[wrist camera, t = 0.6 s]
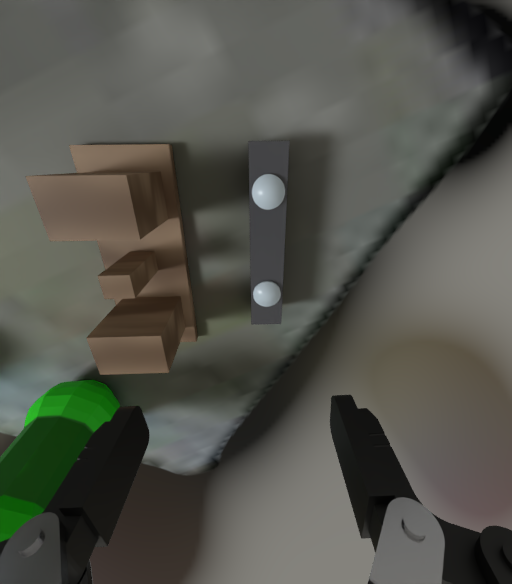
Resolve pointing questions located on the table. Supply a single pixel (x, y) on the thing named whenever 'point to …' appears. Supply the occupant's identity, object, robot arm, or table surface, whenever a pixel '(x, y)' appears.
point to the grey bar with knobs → (267, 227)
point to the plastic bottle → (49, 448)
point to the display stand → (127, 249)
